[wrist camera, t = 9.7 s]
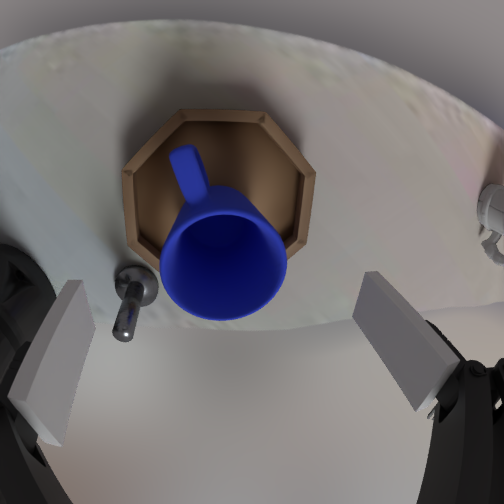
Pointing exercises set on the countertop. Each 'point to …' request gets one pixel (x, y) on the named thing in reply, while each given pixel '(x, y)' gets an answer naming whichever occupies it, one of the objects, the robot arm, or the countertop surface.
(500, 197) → the mug
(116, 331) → the stand rod
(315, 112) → the countertop surface
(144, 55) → the countertop surface
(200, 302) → the mug
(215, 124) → the octagonal wooden tray
